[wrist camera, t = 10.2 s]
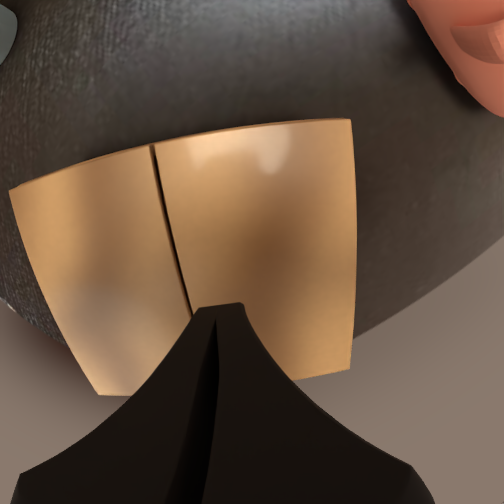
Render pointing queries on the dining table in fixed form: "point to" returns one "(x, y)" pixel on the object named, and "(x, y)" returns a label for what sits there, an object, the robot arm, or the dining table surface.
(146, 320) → the wooden box
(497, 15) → the teapot
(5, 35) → the cup
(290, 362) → the flap
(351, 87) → the dining table surface
